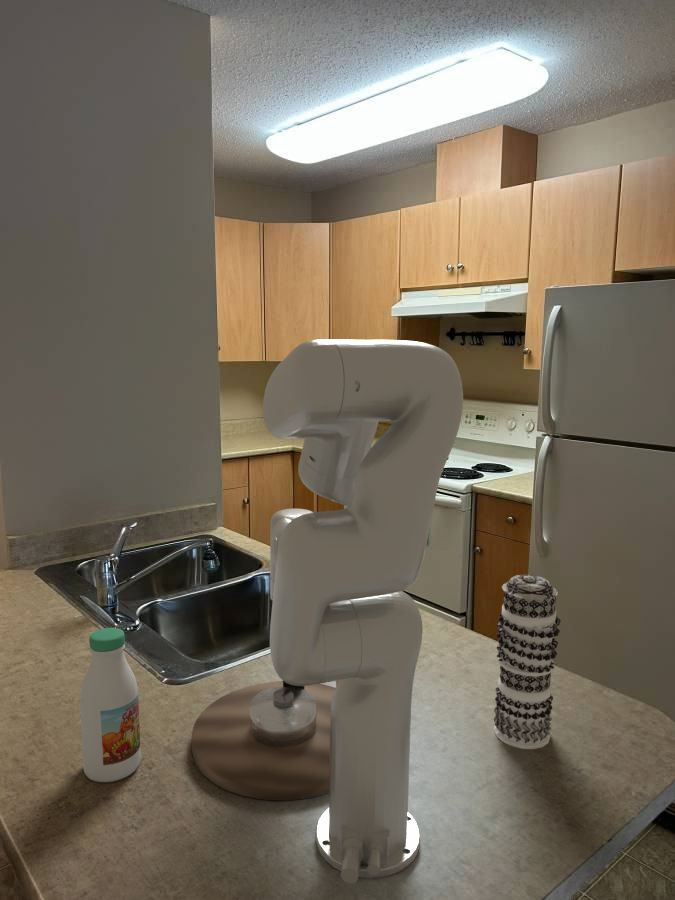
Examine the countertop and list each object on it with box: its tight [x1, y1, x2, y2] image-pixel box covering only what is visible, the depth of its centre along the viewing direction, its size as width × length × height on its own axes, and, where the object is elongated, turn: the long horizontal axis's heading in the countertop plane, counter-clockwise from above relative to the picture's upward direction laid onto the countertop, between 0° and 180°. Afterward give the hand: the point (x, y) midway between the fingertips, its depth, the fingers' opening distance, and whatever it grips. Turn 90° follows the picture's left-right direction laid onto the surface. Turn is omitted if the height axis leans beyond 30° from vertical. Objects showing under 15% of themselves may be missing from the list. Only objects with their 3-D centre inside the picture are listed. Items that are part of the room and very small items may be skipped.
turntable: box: [191, 680, 339, 801], centre depth 101 cm, size 28×28×6 cm
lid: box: [250, 687, 317, 747], centre depth 100 cm, size 10×10×6 cm
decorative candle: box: [493, 574, 562, 750], centre depth 102 cm, size 9×9×25 cm
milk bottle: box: [80, 627, 142, 783], centre depth 93 cm, size 8×8×20 cm
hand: (293, 696), depth 108 cm, fingers closed
